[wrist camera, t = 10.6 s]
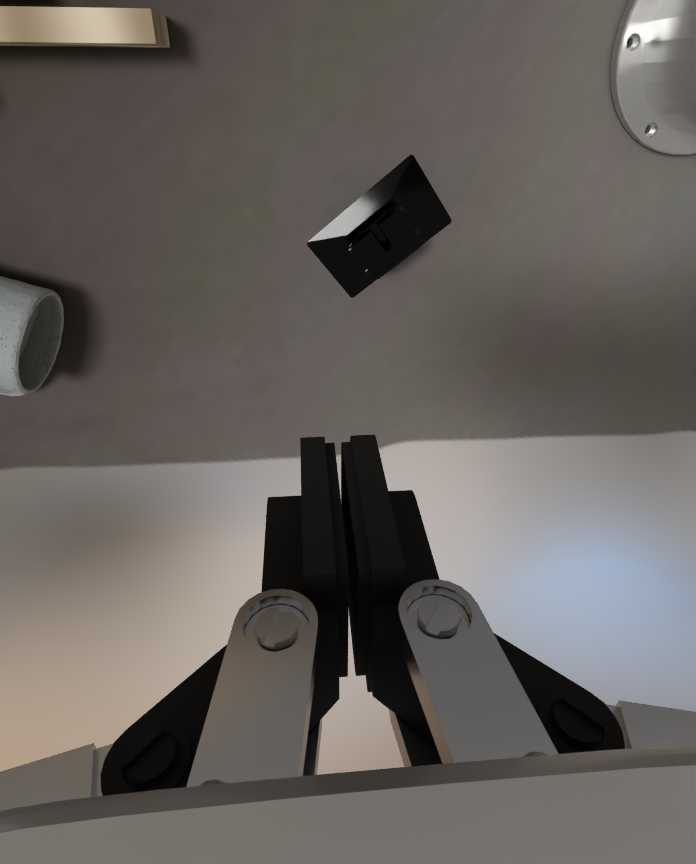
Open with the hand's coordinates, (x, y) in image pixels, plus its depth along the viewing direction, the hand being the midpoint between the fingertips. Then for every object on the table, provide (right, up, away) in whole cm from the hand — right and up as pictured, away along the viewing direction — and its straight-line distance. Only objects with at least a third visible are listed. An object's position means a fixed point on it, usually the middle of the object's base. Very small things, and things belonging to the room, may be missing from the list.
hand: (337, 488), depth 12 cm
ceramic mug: (-26, +10, +29) cm, 40 cm away
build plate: (+2, +16, +28) cm, 32 cm away
